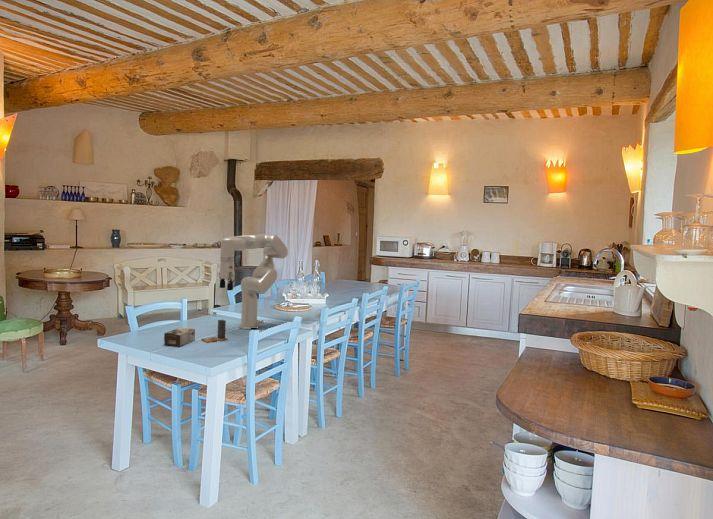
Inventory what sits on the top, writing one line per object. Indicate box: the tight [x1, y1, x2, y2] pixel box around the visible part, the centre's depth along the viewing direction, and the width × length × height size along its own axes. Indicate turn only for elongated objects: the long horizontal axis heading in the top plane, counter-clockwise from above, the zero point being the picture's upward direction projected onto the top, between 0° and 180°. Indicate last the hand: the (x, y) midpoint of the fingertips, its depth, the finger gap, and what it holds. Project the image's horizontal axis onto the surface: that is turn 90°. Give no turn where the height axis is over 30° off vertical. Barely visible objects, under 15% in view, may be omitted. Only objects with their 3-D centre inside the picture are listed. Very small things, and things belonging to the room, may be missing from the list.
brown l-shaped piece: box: [200, 319, 228, 344], centre depth 274 cm, size 12×7×11 cm, turn 130°
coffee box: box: [163, 326, 196, 347], centre depth 266 cm, size 9×6×16 cm
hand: (226, 288), depth 289 cm, fingers open, 9 cm apart
